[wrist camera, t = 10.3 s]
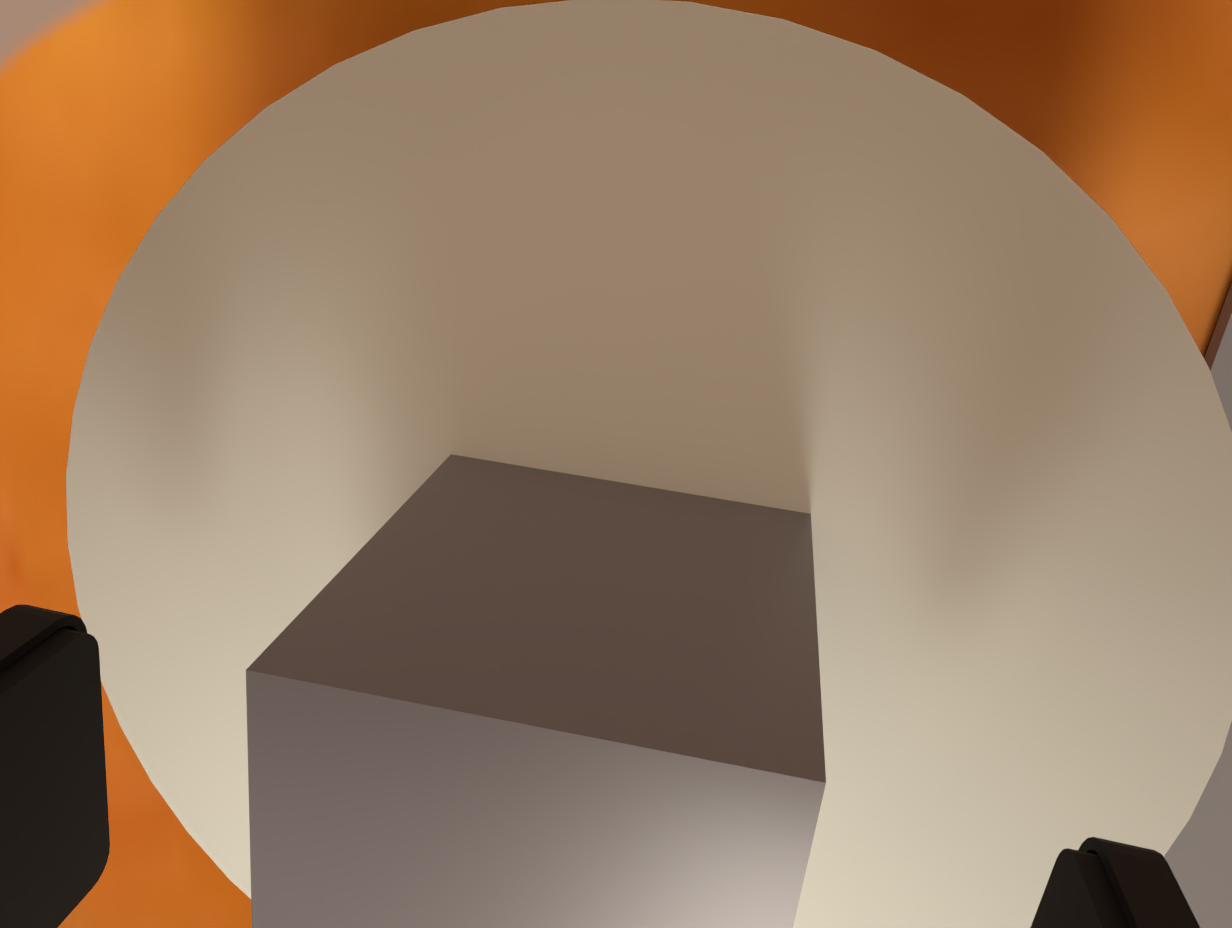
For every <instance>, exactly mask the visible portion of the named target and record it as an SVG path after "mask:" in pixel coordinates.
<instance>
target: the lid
mask: <svg viewBox="0 0 1232 928" xmlns="http://www.w3.org/2000/svg"><path fill="white" fill-rule="evenodd" d="M66 492H67V529H68V547H69V553H70V559H71V566H72V572H73V578H74V585H75V591H76V597H77V604H78V608H79V612H80V615H81V619H82V621H83V622H84V624H85V626H86V629H87V633H88V634H90V635H92V636H94V637H95V639H96V640H97V642H98V647H99V659H100V677H101V682H102V684H103V686H104V689H105V691H106V693H107V696H108V698H109V700H110V703H111V705H112V708H113V710H114V712H115V715H116V717H117V719H118V722H119V724H120V726H121V728H122V730H123V732H124V734H125V735H126V737H127V739H128V741H129V742H130V744H131V746H132V748H133V750H134V751H135V753H136V755H137V757H138V758H139V760H140V762H141V764H142V766H143V767H144V769H145V771H146V773H147V774H148V776H149V778H150V780H151V781H152V783H153V784H154V786H155V787H156V788H157V790H158V791H159V793H160V794H161V795H162V797H163V798H164V800H165V801H166V802H167V804H168V805H169V807H170V808H171V809H172V811H173V812H174V814H175V815H176V816H177V818H178V819H179V821H180V822H181V823H182V825H183V826H184V828H185V829H186V830H187V832H188V833H189V834H190V835H191V836H192V838H193V839H194V840H195V841H196V842H197V843H198V844H199V845H200V847H201V848H202V849H203V850H204V851H205V852H206V853H207V855H208V856H209V857H210V858H211V859H212V860H213V861H214V862H215V864H216V865H217V866H218V867H219V868H220V869H221V870H222V871H223V873H224V874H225V875H226V876H227V877H228V878H229V879H230V880H231V881H232V882H233V883H234V884H235V885H236V886H237V887H238V888H239V889H240V890H242V891H243V892H244V893H245V894H246V895H247V896H248V897H249V898H250V899H251V910H252V928H1030V927H1031V925H1032V922H1033V920H1034V917H1035V914H1036V912H1037V909H1038V906H1039V904H1040V901H1041V898H1042V896H1043V893H1044V890H1045V888H1046V885H1047V883H1048V880H1049V877H1050V875H1051V872H1052V869H1053V867H1054V864H1055V861H1056V859H1057V857H1058V855H1059V853H1060V852H1061V851H1062V850H1063V849H1067V848H1069V849H1073V850H1079V848H1080V846H1081V844H1082V843H1083V842H1084V841H1085V840H1086V839H1087V838H1090V837H1096V838H1101V839H1106V840H1110V841H1115V842H1119V843H1124V844H1129V845H1133V846H1138V847H1142V848H1147V849H1152V850H1155V851H1157V852H1159V853H1161V854H1162V855H1163V857H1164V856H1165V854H1166V853H1167V851H1168V850H1169V848H1170V847H1171V845H1172V844H1173V843H1174V841H1175V840H1176V838H1177V837H1178V835H1179V834H1180V832H1181V831H1182V830H1183V828H1184V827H1185V825H1186V824H1187V822H1188V821H1189V819H1190V818H1191V815H1192V813H1193V811H1194V809H1195V807H1196V805H1197V803H1198V801H1199V799H1200V797H1201V795H1202V793H1203V791H1204V789H1205V787H1206V785H1207V783H1208V781H1209V779H1210V777H1211V775H1212V772H1213V770H1214V768H1215V766H1216V764H1217V762H1218V760H1219V758H1220V756H1221V754H1222V751H1223V747H1224V744H1225V741H1226V738H1227V734H1228V731H1229V728H1230V725H1231V722H1232V431H1231V428H1230V426H1229V423H1228V420H1227V417H1226V414H1225V412H1224V409H1223V406H1222V403H1221V400H1220V397H1219V395H1218V392H1217V389H1216V386H1215V383H1214V380H1213V378H1212V375H1211V372H1210V369H1209V367H1208V365H1207V363H1206V361H1205V360H1204V358H1203V356H1202V354H1201V352H1200V350H1199V349H1198V347H1197V345H1196V343H1195V341H1194V339H1193V338H1192V336H1191V334H1190V332H1189V330H1188V328H1187V327H1186V325H1185V323H1184V321H1183V319H1182V317H1181V315H1180V314H1179V312H1178V310H1177V308H1176V306H1175V304H1174V303H1173V301H1172V299H1171V297H1170V295H1169V293H1168V292H1167V290H1166V289H1165V287H1164V286H1163V285H1162V283H1161V282H1160V281H1159V279H1158V278H1157V277H1156V275H1155V274H1154V273H1153V272H1152V270H1151V269H1150V268H1149V266H1148V265H1147V264H1146V262H1145V261H1144V260H1143V258H1142V257H1141V256H1140V255H1139V253H1138V252H1137V251H1136V249H1135V248H1134V247H1133V245H1132V244H1131V243H1130V241H1129V240H1128V239H1127V237H1126V236H1125V235H1124V234H1123V232H1122V231H1121V230H1120V228H1119V227H1118V226H1117V224H1116V223H1115V222H1114V220H1113V219H1112V218H1111V217H1110V216H1109V215H1108V214H1107V213H1106V212H1105V211H1104V210H1103V209H1102V208H1101V207H1100V206H1099V205H1098V204H1097V203H1096V202H1095V201H1094V200H1093V199H1092V198H1091V197H1090V196H1089V195H1087V194H1086V193H1085V192H1084V191H1083V190H1082V189H1081V188H1080V187H1079V186H1078V185H1077V184H1076V183H1075V182H1074V181H1073V180H1072V179H1071V178H1070V177H1069V176H1068V175H1067V174H1066V173H1065V172H1064V171H1063V170H1062V169H1061V168H1059V167H1058V166H1057V165H1056V164H1055V163H1054V162H1053V161H1052V160H1051V159H1050V158H1049V157H1048V156H1047V155H1046V154H1045V153H1044V152H1043V151H1042V150H1040V149H1039V148H1037V147H1036V146H1035V145H1033V144H1032V143H1030V142H1029V141H1028V140H1026V139H1025V138H1023V137H1022V136H1020V135H1019V134H1018V133H1016V132H1015V131H1013V130H1012V129H1011V128H1009V127H1008V126H1006V125H1005V124H1004V123H1002V122H1001V121H999V120H998V119H997V118H995V117H994V116H992V115H991V114H990V113H988V112H987V111H985V110H984V109H983V108H981V107H980V106H978V105H977V104H975V103H974V102H973V101H971V100H970V99H968V98H967V97H966V96H964V95H963V94H961V93H959V92H957V91H955V90H953V89H951V88H949V87H947V86H945V85H943V84H941V83H939V82H937V81H935V80H933V79H931V78H929V77H927V76H925V75H923V74H921V73H919V72H917V71H916V70H914V69H912V68H910V67H908V66H906V65H904V64H902V63H900V62H898V61H896V60H894V59H892V58H890V57H888V56H886V55H884V54H882V53H880V52H878V51H876V50H873V49H870V48H867V47H865V46H862V45H859V44H856V43H853V42H850V41H847V40H844V39H841V38H838V37H835V36H832V35H829V34H826V33H823V32H820V31H817V30H814V29H811V28H809V27H806V26H803V25H800V24H797V23H794V22H791V21H788V20H785V19H781V18H775V17H770V16H765V15H759V14H754V13H748V12H743V11H738V10H732V9H727V8H721V7H716V6H710V5H705V4H700V3H694V2H689V1H666V0H567V1H558V2H548V3H539V4H530V5H521V6H512V7H502V8H497V9H494V10H490V11H486V12H482V13H478V14H475V15H471V16H467V17H463V18H459V19H455V20H452V21H448V22H444V23H440V24H436V25H433V26H429V27H425V28H421V29H417V30H414V31H411V32H409V33H407V34H404V35H402V36H400V37H397V38H395V39H393V40H390V41H388V42H386V43H383V44H381V45H379V46H376V47H374V48H372V49H369V50H367V51H365V52H362V53H360V54H358V55H355V56H353V57H351V58H349V59H346V60H344V61H342V62H339V63H337V64H335V65H333V66H331V67H330V68H328V69H327V70H325V71H323V72H322V73H320V74H319V75H317V76H315V77H314V78H312V79H311V80H309V81H307V82H306V83H304V84H303V85H301V86H299V87H298V88H296V89H295V90H293V91H291V92H290V93H288V94H287V95H285V96H283V97H282V98H280V99H279V100H277V101H275V102H274V103H272V104H271V105H269V106H267V107H266V108H264V109H263V110H262V111H261V112H260V113H259V114H257V115H256V116H255V117H254V118H253V119H252V120H251V121H249V122H248V123H247V124H246V125H245V126H244V127H242V128H241V129H240V130H239V131H238V132H237V133H235V134H234V135H233V136H232V137H231V138H230V139H229V140H227V141H226V142H225V143H224V144H223V145H222V146H220V147H219V148H218V149H217V150H216V151H215V152H213V153H212V154H211V155H210V156H209V157H208V158H207V159H205V160H204V162H203V163H202V164H201V165H200V166H199V168H198V169H197V170H196V171H195V172H194V173H193V175H192V176H191V177H190V178H189V179H188V180H187V182H186V183H185V184H184V185H183V186H182V188H181V189H180V190H179V191H178V192H177V193H176V195H175V196H174V197H173V198H172V199H171V200H170V202H169V203H168V204H167V205H166V206H165V208H164V209H163V210H162V211H161V212H160V213H159V215H158V216H157V217H156V218H155V220H154V222H153V223H152V225H151V227H150V228H149V230H148V231H147V233H146V235H145V236H144V238H143V240H142V241H141V243H140V244H139V246H138V248H137V249H136V251H135V253H134V254H133V256H132V257H131V259H130V261H129V262H128V264H127V266H126V267H125V269H124V271H123V272H122V274H121V275H120V277H119V279H118V281H117V283H116V285H115V288H114V290H113V292H112V295H111V297H110V300H109V302H108V304H107V307H106V309H105V311H104V314H103V316H102V318H101V321H100V323H99V326H98V328H97V330H96V333H95V335H94V337H93V340H92V342H91V345H90V348H89V352H88V356H87V360H86V364H85V368H84V372H83V376H82V379H81V383H80V387H79V391H78V395H77V399H76V403H75V407H74V410H73V419H72V428H71V437H70V446H69V455H68V465H67V474H66Z"/></svg>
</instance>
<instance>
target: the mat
mask: <svg viewBox="0 0 1232 928" xmlns="http://www.w3.org/2000/svg"><path fill="white" fill-rule="evenodd" d="M1204 360H1205V361H1206V363H1207V365H1208V367H1209V369H1210V372H1211V375H1212V378H1213V380H1214V383H1215V386H1216V389H1217V392H1218V395H1219V397H1220V400H1221V403H1222V406H1223V409H1224V412H1225V414H1226V417H1227V420H1228V423H1229V426H1230V428H1231V431H1232V283H1231V285H1230V288H1229V291H1228V294H1227V296H1226V299H1225V302H1224V305H1223V307H1222V310H1221V313H1220V316H1219V319H1218V321H1217V324H1216V327H1215V330H1214V332H1213V335H1212V338H1211V341H1210V343H1209V346H1208V349H1207V352H1206V354H1205V357H1204ZM1164 858H1165V860H1166V861H1167V862H1168V864H1169V866H1170V868H1171V870H1172V872H1173V874H1174V876H1175V878H1176V880H1177V882H1178V884H1179V886H1180V888H1181V890H1182V892H1183V894H1184V896H1185V898H1186V900H1187V902H1188V904H1189V906H1190V908H1191V910H1192V912H1193V914H1194V916H1195V918H1196V920H1197V922H1198V924H1199V926H1200V928H1232V722H1231V725H1230V728H1229V731H1228V734H1227V738H1226V741H1225V744H1224V747H1223V751H1222V754H1221V756H1220V758H1219V760H1218V762H1217V764H1216V766H1215V768H1214V770H1213V772H1212V775H1211V777H1210V779H1209V781H1208V783H1207V785H1206V787H1205V789H1204V791H1203V793H1202V795H1201V797H1200V799H1199V801H1198V803H1197V805H1196V807H1195V809H1194V811H1193V813H1192V815H1191V818H1190V819H1189V821H1188V822H1187V824H1186V825H1185V827H1184V828H1183V830H1182V831H1181V832H1180V834H1179V835H1178V837H1177V838H1176V840H1175V841H1174V843H1173V844H1172V845H1171V847H1170V848H1169V850H1168V851H1167V853H1166V854H1165V856H1164Z"/></svg>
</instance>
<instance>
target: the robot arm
mask: <svg viewBox="0 0 1232 928" xmlns="http://www.w3.org/2000/svg"><path fill="white" fill-rule="evenodd" d="M109 847H110V841H109V823H108V804H107V786H106V768H105V750H104V732H103V713H102V695H101V677H100V659H99V647H98V642H97V640H96V639H95V637H94V636H92V635H90V634H88V633H87V629H86V626H85V624H84V622H83V621H82V619H81V618H79V617H77V616H75V615H71V614H66V613H62V612H57V611H53V610H48V609H43V608H39V607H34V606H30V605H15V606H13V607H11V608H9V609H7V610H5V611H3V612H2V613H0V928H57V927H58V926H59V925H60V924H61V923H62V922H63V921H64V919H65V918H66V917H67V916H68V915H69V914H70V913H71V911H72V910H73V909H74V908H75V907H76V906H77V905H78V904H79V902H80V901H81V900H82V899H83V898H84V897H85V896H86V895H87V893H88V892H89V891H90V890H91V889H92V888H93V886H94V885H95V884H96V882H97V881H98V880H99V878H100V876H101V874H102V872H103V870H104V868H105V865H106V863H107V859H108V855H109ZM1030 928H1200V926H1199V924H1198V922H1197V920H1196V918H1195V916H1194V914H1193V912H1192V910H1191V908H1190V906H1189V904H1188V902H1187V900H1186V898H1185V896H1184V894H1183V892H1182V890H1181V888H1180V886H1179V884H1178V882H1177V880H1176V878H1175V876H1174V874H1173V872H1172V870H1171V868H1170V866H1169V864H1168V862H1167V861H1166V860H1165V858H1164V857H1163V855H1162V854H1161V853H1159V852H1157V851H1155V850H1152V849H1147V848H1142V847H1138V846H1133V845H1129V844H1124V843H1119V842H1115V841H1110V840H1106V839H1101V838H1096V837H1090V838H1087V839H1086V840H1085V841H1084V842H1083V843H1082V844H1081V846H1080V848H1079V850H1073V849H1069V848H1067V849H1063V850H1062V851H1061V852H1060V853H1059V855H1058V857H1057V859H1056V861H1055V864H1054V867H1053V869H1052V872H1051V875H1050V877H1049V880H1048V883H1047V885H1046V888H1045V890H1044V893H1043V896H1042V898H1041V901H1040V904H1039V906H1038V909H1037V912H1036V914H1035V917H1034V920H1033V922H1032V925H1031V927H1030Z"/></svg>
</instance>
